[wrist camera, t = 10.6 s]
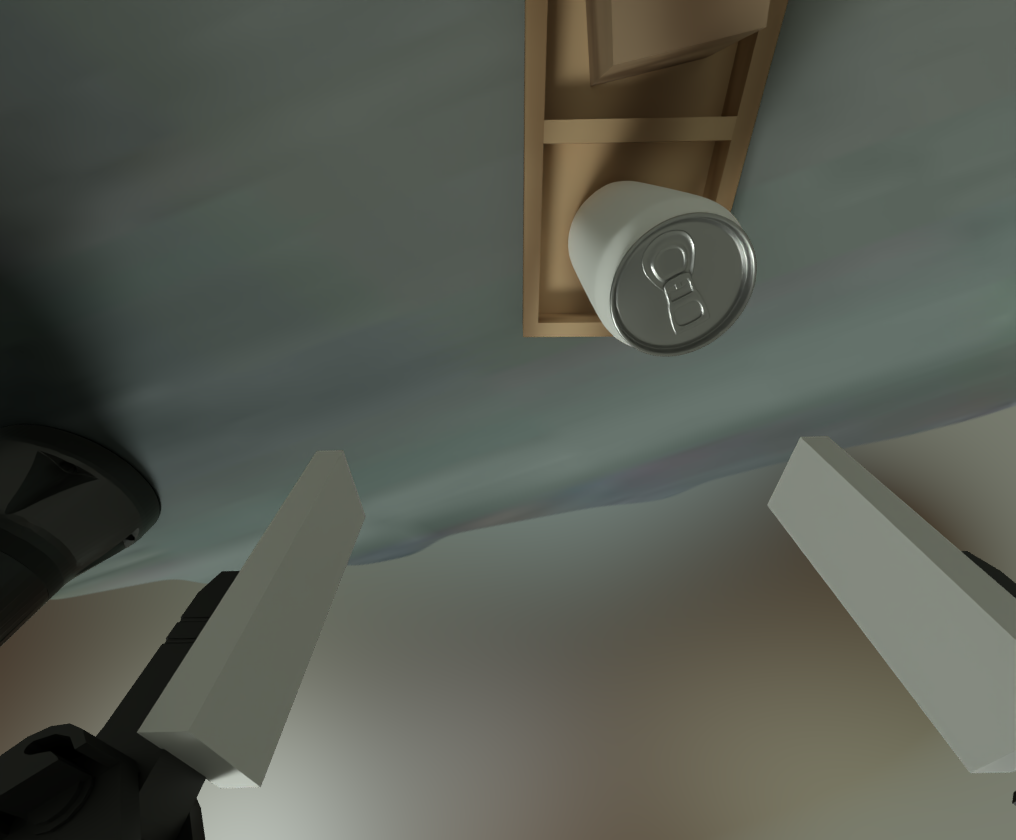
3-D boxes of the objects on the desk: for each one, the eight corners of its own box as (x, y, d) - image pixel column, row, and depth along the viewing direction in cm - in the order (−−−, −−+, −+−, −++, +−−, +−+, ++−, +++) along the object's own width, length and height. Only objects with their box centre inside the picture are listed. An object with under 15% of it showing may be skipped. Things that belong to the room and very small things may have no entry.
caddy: (522, 323, 29) (523, 336, 27) (526, -205, 16) (527, -259, 14) (683, 322, 29) (696, 335, 27) (816, -215, 16) (862, -273, 14)
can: (647, 155, 23) (749, 156, 13) (681, 256, 26) (783, 319, 16) (549, 218, 25) (571, 262, 15) (591, 305, 28) (633, 389, 18)
